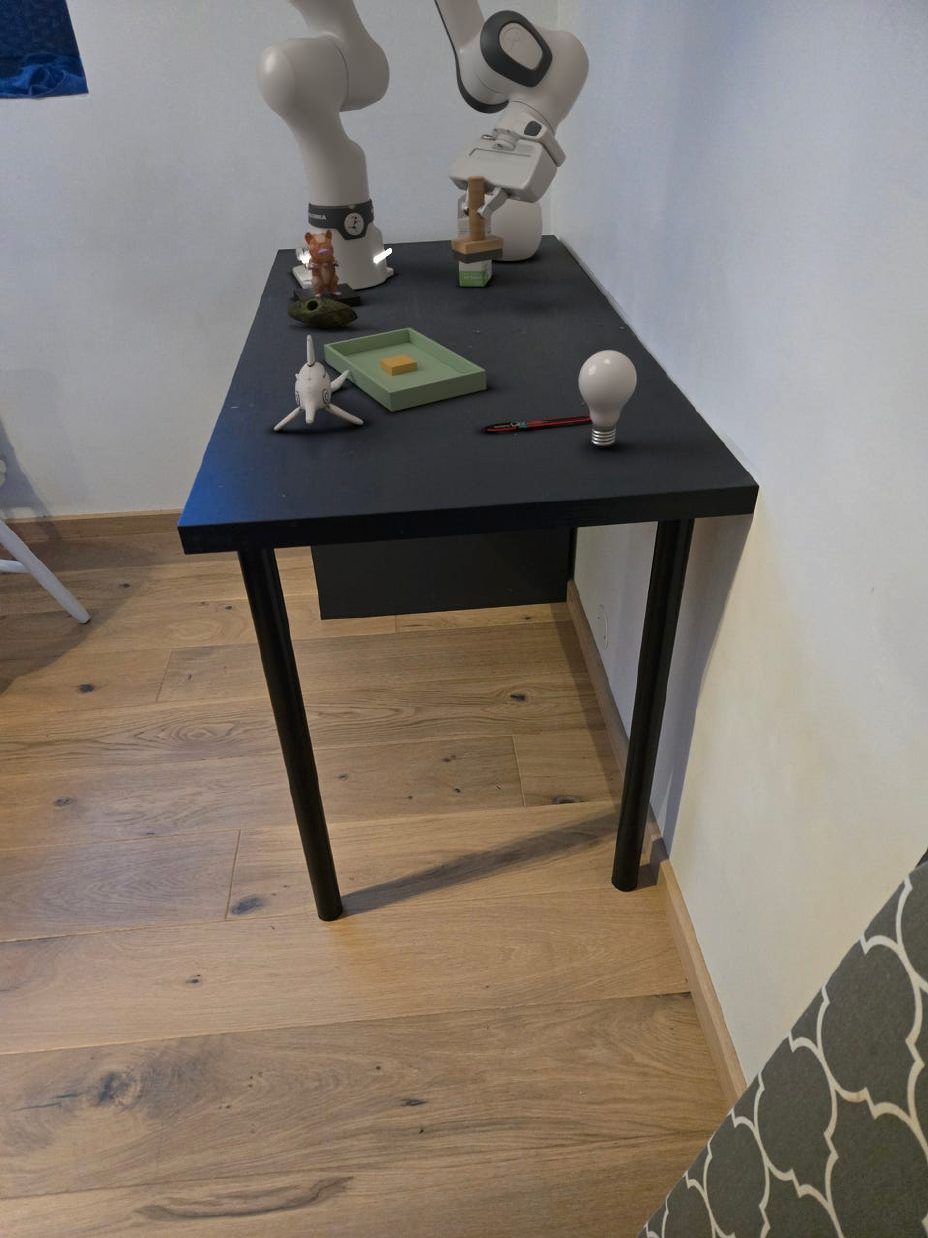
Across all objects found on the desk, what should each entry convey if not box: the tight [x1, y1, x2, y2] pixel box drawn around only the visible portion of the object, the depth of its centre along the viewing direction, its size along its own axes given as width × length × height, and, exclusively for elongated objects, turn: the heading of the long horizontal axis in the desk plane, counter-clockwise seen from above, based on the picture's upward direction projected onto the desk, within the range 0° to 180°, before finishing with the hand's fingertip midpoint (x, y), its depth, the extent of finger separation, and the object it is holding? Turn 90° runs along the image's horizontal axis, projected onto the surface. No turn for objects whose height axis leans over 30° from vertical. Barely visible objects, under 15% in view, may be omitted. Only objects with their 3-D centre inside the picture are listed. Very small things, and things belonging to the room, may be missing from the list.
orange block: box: [380, 354, 417, 375], centre depth 116 cm, size 4×4×1 cm
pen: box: [481, 415, 591, 432], centre depth 100 cm, size 2×14×1 cm, turn 100°
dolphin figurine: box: [273, 334, 364, 432], centre depth 102 cm, size 11×25×11 cm, turn 6°
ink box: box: [456, 192, 493, 288], centre depth 152 cm, size 9×5×15 cm, turn 168°
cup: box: [485, 194, 543, 262], centre depth 167 cm, size 13×13×14 cm
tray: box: [323, 327, 487, 413], centre depth 116 cm, size 23×14×3 cm, turn 29°
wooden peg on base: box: [450, 176, 504, 264], centre depth 132 cm, size 5×7×12 cm, turn 119°
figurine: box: [292, 230, 361, 307], centre depth 145 cm, size 10×10×12 cm
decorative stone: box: [287, 296, 359, 330], centre depth 135 cm, size 11×8×5 cm
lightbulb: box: [577, 349, 638, 449], centre depth 92 cm, size 6×6×11 cm
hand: (473, 215), depth 132 cm, fingers closed on wooden peg on base, 2 cm apart
